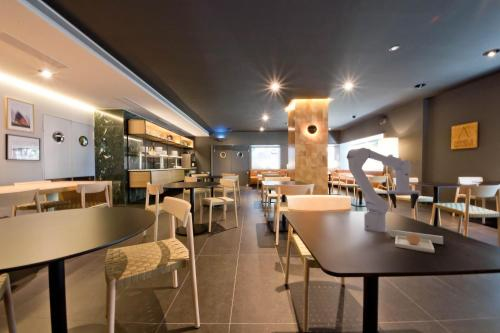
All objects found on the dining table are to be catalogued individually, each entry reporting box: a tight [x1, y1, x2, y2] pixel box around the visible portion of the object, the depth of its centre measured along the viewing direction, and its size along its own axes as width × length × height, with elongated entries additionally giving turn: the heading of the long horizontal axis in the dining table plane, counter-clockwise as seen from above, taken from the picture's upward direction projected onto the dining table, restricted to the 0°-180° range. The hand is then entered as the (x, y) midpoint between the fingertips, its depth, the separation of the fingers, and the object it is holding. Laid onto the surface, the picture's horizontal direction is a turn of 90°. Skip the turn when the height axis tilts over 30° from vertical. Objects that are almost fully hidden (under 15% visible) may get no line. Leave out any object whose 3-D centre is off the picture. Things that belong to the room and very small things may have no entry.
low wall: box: [390, 229, 444, 245], centre depth 91 cm, size 18×1×3 cm, turn 54°
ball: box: [407, 232, 420, 244], centre depth 85 cm, size 4×4×4 cm
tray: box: [394, 235, 435, 254], centre depth 85 cm, size 12×12×1 cm
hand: (403, 208), depth 109 cm, fingers open, 7 cm apart
